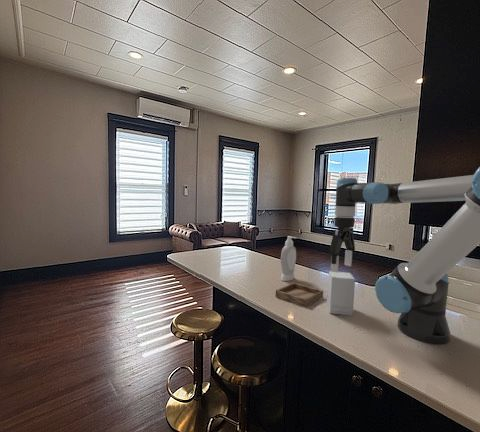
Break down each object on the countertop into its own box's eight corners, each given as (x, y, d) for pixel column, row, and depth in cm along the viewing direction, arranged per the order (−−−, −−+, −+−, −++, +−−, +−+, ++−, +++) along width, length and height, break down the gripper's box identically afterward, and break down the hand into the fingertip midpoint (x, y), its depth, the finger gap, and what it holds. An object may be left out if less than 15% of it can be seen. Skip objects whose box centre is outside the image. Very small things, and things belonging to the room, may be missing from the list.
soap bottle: (287, 284, 139) (289, 238, 137) (276, 280, 145) (278, 236, 143) (302, 279, 148) (304, 236, 146) (291, 276, 153) (293, 234, 151)
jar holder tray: (322, 297, 122) (323, 291, 122) (305, 307, 111) (305, 300, 110) (293, 288, 133) (294, 282, 132) (275, 296, 121) (275, 290, 121)
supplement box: (353, 316, 103) (355, 279, 102) (329, 313, 105) (331, 277, 104) (348, 306, 112) (350, 272, 111) (326, 304, 114) (328, 270, 113)
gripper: (347, 214, 117) (344, 261, 119) (321, 217, 99) (318, 272, 101) (365, 216, 112) (361, 264, 114) (341, 219, 94) (337, 277, 96)
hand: (341, 268), depth 107 cm, fingers open, 13 cm apart
